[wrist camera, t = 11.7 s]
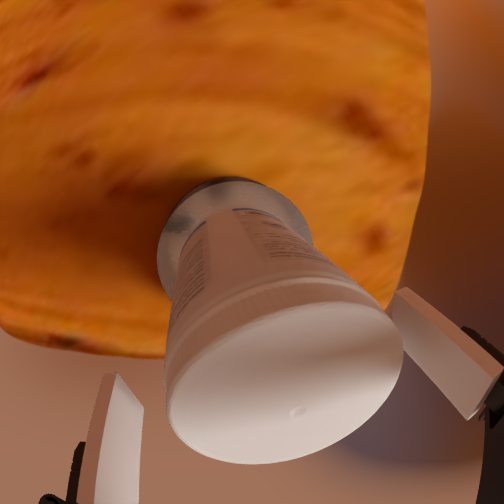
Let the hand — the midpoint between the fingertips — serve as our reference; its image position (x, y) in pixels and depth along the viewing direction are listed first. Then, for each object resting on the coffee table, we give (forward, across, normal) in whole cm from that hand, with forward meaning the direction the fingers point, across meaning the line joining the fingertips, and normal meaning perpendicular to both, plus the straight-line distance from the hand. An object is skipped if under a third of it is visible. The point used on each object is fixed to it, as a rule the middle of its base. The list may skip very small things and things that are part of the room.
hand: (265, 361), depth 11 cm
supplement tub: (+12, +1, 0) cm, 12 cm away
